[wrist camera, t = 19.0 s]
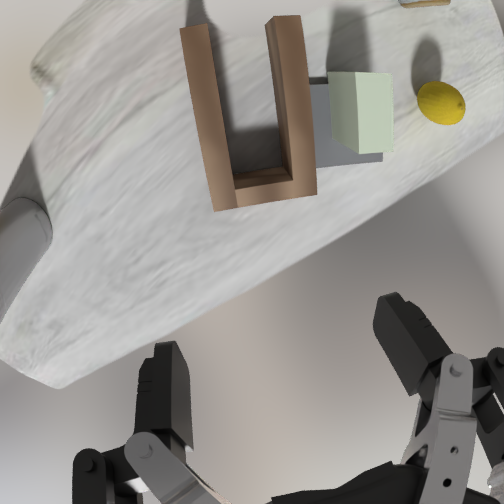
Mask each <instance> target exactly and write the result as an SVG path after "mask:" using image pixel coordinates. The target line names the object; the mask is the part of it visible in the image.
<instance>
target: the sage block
mask: <svg viewBox="0 0 504 504" xmlns="http://www.w3.org/2000/svg"><path fill="white" fill-rule="evenodd" d="M327 76H328V86H329V97H330V109H331V123H332V139H334V140H336V141H338V142H339V143H341V144H343V145H345V146H346V147H348V148H350V149H351V150H353V151H355V152H356V153H358V154H367V153H380V152H393V143H394V113H393V86H392V74H386V73H369V72H327Z"/></svg>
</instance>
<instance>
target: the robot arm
mask: <svg viewBox="0 0 504 504" xmlns="http://www.w3.org/2000/svg"><path fill="white" fill-rule="evenodd" d="M51 241H52V228H51V224H50V221H49V219H48V217H47V215H46V213H45V212H44V211H43V209H42V208H41V207H40V206H39V205H38V204H37V203H35V202H34V201H32V200H30V199H27V198H17V199H15V200H13V201H12V202H10V203H9V204H8V205H7V206H6V207H5V208H3V209H2V210H1V211H0V323H1V322H2V320H3V318H4V316H5V314H6V312H7V311H8V309H9V307H10V305H11V304H12V302H13V300H14V299H15V297H16V295H17V294H18V292H19V291H20V289H21V287H22V286H23V284H24V283H25V281H26V280H27V278H28V277H29V275H30V274H31V272H32V271H33V269H34V268H35V266H36V265H37V263H38V262H39V261H40V259H41V258H42V256H43V255H44V253H45V252H46V251H47V249H48V248H49V246H50V244H51ZM373 330H374V333H375V336H376V338H377V339H378V341H379V343H380V345H381V346H382V348H383V350H384V351H385V353H386V355H387V357H388V358H389V360H390V362H391V364H392V366H393V367H394V369H395V371H396V372H397V375H398V376H399V378H400V380H401V382H402V384H403V386H404V387H405V389H406V391H407V393H408V395H409V396H412V395H414V394H416V393H419V395H420V399H419V403H418V408H417V414H416V418H415V422H414V427H413V431H412V435H411V439H410V442H409V444H408V446H407V447H406V449H405V452H404V454H403V457H402V460H401V463H400V464H397V465H393V463H392V461H389V462H387V463H385V464H382V465H380V466H377V467H375V468H372V469H370V470H367V471H365V472H363V473H361V474H360V475H358V476H357V477H355V478H354V479H352V480H351V481H349V482H347V483H345V484H344V485H342V486H340V487H338V488H336V489H327V490H310V491H309V490H308V491H299V492H295V493H290V494H286V495H281V496H276V497H272V498H271V499H272V501H271V502H268V503H266V504H504V414H503V412H502V411H501V409H500V407H499V405H498V403H497V401H496V399H495V398H494V395H493V393H494V392H495V394H496V396H497V398H498V400H499V401H500V403H501V405H502V407H503V409H504V348H500V347H497V348H493V349H492V350H491V351H490V352H489V353H488V355H487V357H484V358H478V359H471V360H469V359H468V358H467V357H465V356H464V355H461V354H456V353H453V352H452V351H451V350H450V348H449V347H448V345H447V344H446V343H445V341H444V340H443V339H442V337H441V336H440V334H439V333H438V332H437V330H436V329H435V328H434V326H432V324H431V322H430V321H429V320H428V318H426V316H425V314H424V313H423V312H422V310H421V309H420V308H419V307H418V306H416V305H415V304H413V303H412V302H410V301H407V302H405V301H404V300H403V298H402V297H401V296H400V294H399V293H397V292H394V293H390V294H387V295H383V296H380V297H379V298H378V301H377V306H376V311H375V316H374V320H373ZM138 383H139V384H138V388H137V392H138V394H137V401H136V413H135V428H134V433H133V435H132V436H131V437H130V438H129V439H128V440H127V442H126V444H125V445H123V446H121V447H119V448H116V449H113V450H109V451H106V452H103V453H100V452H98V451H97V450H95V449H90V448H88V449H83V450H81V451H80V452H79V453H78V454H77V455H76V456H75V458H74V461H73V477H72V504H143V496H142V492H145V491H149V490H151V492H152V493H153V494H154V495H155V496H156V497H157V499H158V500H159V501H160V502H161V504H231V503H230V502H229V501H227V500H226V499H225V498H224V497H222V496H221V495H220V494H219V493H218V492H216V491H215V490H214V489H213V488H212V487H211V486H210V485H209V484H207V482H205V481H204V480H203V479H202V478H201V477H200V476H199V475H198V474H197V473H196V472H195V471H194V470H193V469H192V468H191V467H190V466H189V465H188V464H187V463H186V454H185V452H188V451H194V448H193V433H192V417H191V396H190V375H189V370H188V366H187V363H186V361H185V359H184V357H183V355H182V353H181V351H180V349H179V347H178V345H177V343H176V341H168V342H162V343H156V344H155V348H154V357H153V358H146V359H145V360H144V362H143V364H142V366H141V368H140V370H139V379H138ZM476 432H477V435H478V437H479V439H480V441H481V443H482V446H483V448H484V450H485V453H486V455H487V458H488V460H489V463H490V465H491V467H492V472H491V474H490V477H489V478H488V481H487V484H488V486H489V487H491V492H490V495H486V494H483V493H480V492H477V491H475V490H472V489H469V488H467V482H468V478H469V473H470V468H471V463H472V457H473V451H474V444H475V436H476Z"/></svg>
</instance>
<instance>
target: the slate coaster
mask: <svg viewBox="0 0 504 504" xmlns="http://www.w3.org/2000/svg"><path fill="white" fill-rule="evenodd" d="M310 95H311V105H312V117H313V129H314V143H315V159H316V168H322V167H331V166H340V165H349V164H360V163H371V162H382V161H383V152H380V153H367V154H358V153H356V152H355V151H353V150H351V149H350V148H348V147H346V146H345V145H343V144H341V143H339V142H338V141H336V140H334V139H332V123H331V109H330V97H329V86H328V84H312V85H310Z"/></svg>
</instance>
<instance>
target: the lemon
mask: <svg viewBox="0 0 504 504" xmlns="http://www.w3.org/2000/svg"><path fill="white" fill-rule="evenodd" d="M417 102H418V106H419V108H420V110H421V112H422V113H423V114H424V115H425V116H426V117H427V118H428V119H429V120H431V121H433V122H435V123H437V124H442V125H452V124H456V123H458V122H459V121H460V120H461V119H462V118H463V116H464V114H465V102H464V99H463V97H462V95H461V94H460V92H459V91H458V90H457V89H455V88H454V87H453V86H451V85H449V84H447V83H444V82H439V81H432V82H428V83H426V84H424V85H423V86H422V87H421V88H420V89H419V92H418V95H417Z"/></svg>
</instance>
